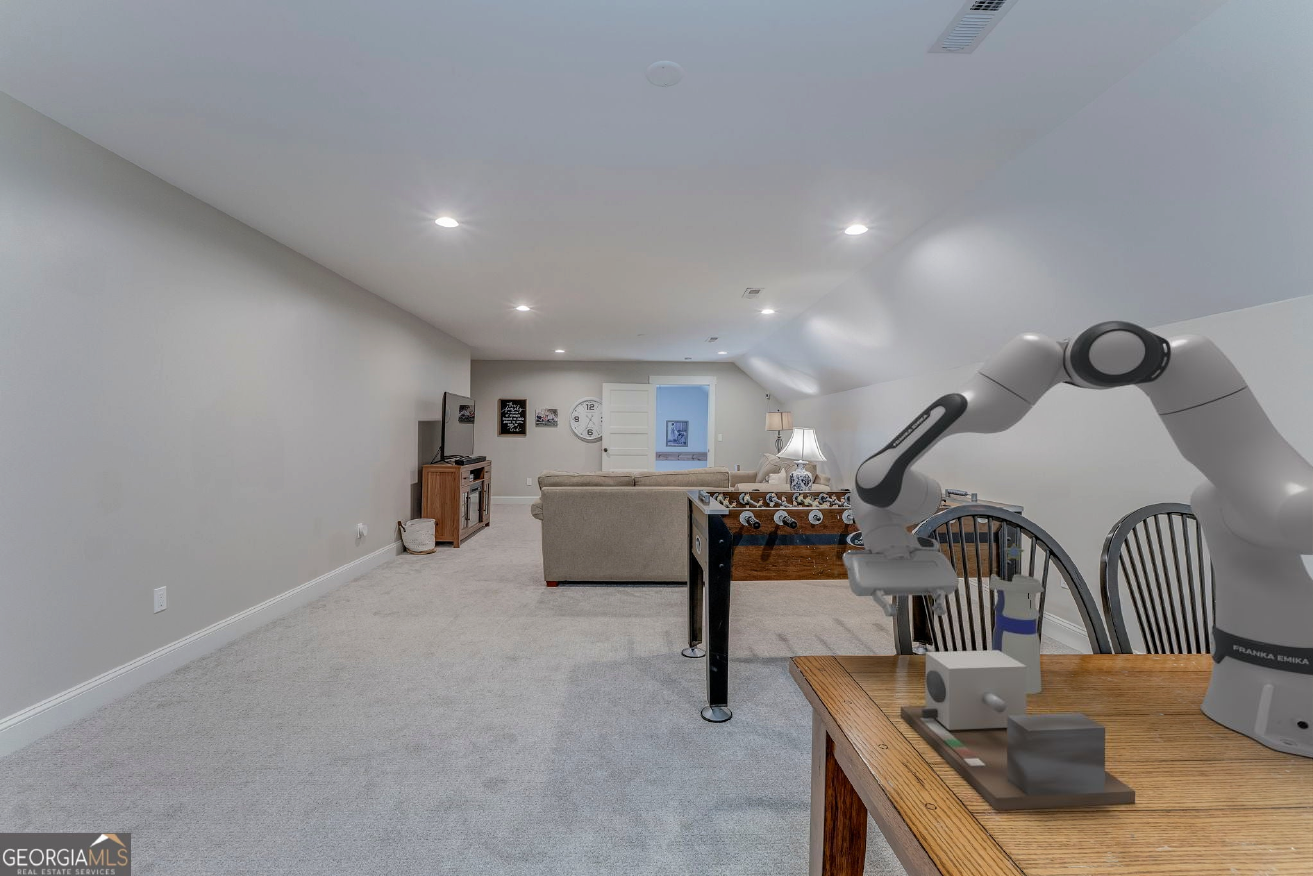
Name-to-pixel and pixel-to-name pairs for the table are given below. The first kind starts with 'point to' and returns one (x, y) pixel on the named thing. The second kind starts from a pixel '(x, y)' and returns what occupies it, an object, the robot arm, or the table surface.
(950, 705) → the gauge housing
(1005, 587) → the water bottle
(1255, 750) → the table surface
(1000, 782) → the gauge stand
